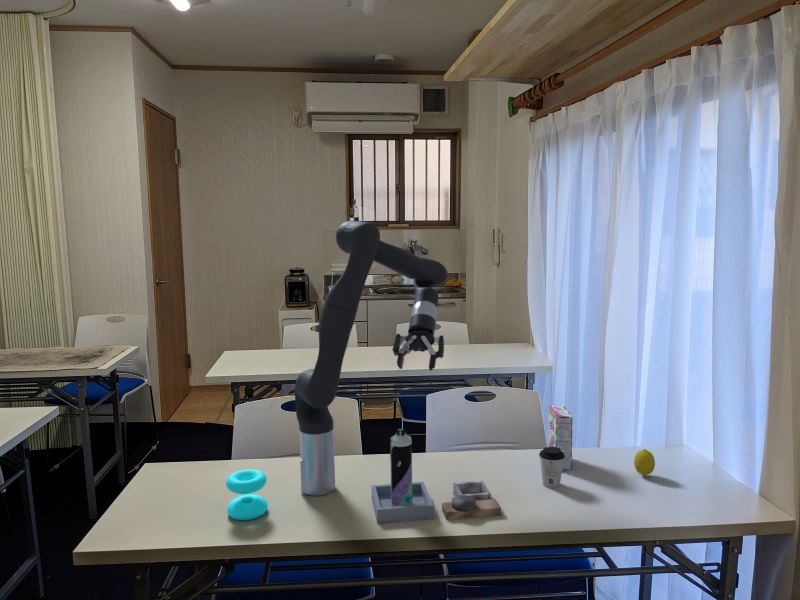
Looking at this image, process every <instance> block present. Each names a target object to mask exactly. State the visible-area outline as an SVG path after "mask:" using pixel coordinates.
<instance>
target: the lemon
mask: <svg viewBox="0 0 800 600" xmlns="http://www.w3.org/2000/svg"><path fill="white" fill-rule="evenodd" d="M633 466H634V468H635V470H636V472H638V474H640V475H641V476H642V475H644V476H643V477H646V476H647V475H650V474H651V473H653V472H654V470H655V467H656V460H655V457H654V455H653V453H652V452H651V451H649V450H647V449H646V448H644V449H642V450H639V451H638V452H637V453H635V455H634V460H633ZM645 475H646V476H645Z"/></svg>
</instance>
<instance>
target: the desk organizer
mask: <svg viewBox="0 0 800 600" xmlns="http://www.w3.org/2000/svg"><path fill="white" fill-rule="evenodd" d="M452 486H453V487H452V492H453V497H452V498H451V501H450V502H442V503H441V511H442V513H443V516H444V518H445V520H446V521H448V520H459V519H472V518H473V519H474V517H475V518H484V517H485V518H487V517H497V516H499V515H500V516H502V506H501V505H500V504H499V502H498V500H497V499H496V498H492V494H491V492H490V490H489V488H488V487H487V485H486V484H485V483H484V481H483V480H474V481H460V482H453V483H452ZM486 516H487V517H486Z"/></svg>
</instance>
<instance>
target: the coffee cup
mask: <svg viewBox="0 0 800 600" xmlns="http://www.w3.org/2000/svg"><path fill="white" fill-rule="evenodd" d="M538 455H539V461H540V470H541V471H540V472H541V477H542V478H541V480H542V486H544V487H545V488H550V489H556V488H559V487H560V486H561V480H562V472H563V470H562V467H563V461H564V458H565V455H564V453H563V452H562V451H561V449H560V448H557V447H548V446H547V447H543V449H541V450H540V451H539V454H538Z"/></svg>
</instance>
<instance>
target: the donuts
mask: <svg viewBox="0 0 800 600" xmlns="http://www.w3.org/2000/svg"><path fill="white" fill-rule="evenodd" d="M266 483H267V476H266V474H265V473H264V471H263V472H262V471H261V470H258V469H253V468H250V469H241V470H238V471H235V472H232V473H230V475H228V477H227V478H226V481H225V486H226V489H227V490H229V491H230V492H232V493H234V494H237V495H239V496H236V497H235V498H233V499H232V500H231V501H230V502H229V503H228V505H227V514H228V515H229V517H231V518H232V519H234V520H237V521H250V520H253V519H257V518H260V517H261V516H263V515H264V514H265V513H266V512H267V510H268V507H269V506H268V505H269V504H268V501H267V500H266V498H264V497H263V496H262V495H258V494H253V493H256V492H258V491H260V490H261V489H262V488H263V487H265V485H266Z"/></svg>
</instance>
